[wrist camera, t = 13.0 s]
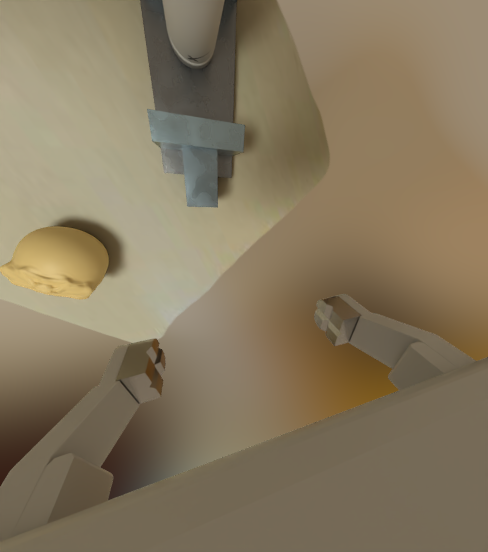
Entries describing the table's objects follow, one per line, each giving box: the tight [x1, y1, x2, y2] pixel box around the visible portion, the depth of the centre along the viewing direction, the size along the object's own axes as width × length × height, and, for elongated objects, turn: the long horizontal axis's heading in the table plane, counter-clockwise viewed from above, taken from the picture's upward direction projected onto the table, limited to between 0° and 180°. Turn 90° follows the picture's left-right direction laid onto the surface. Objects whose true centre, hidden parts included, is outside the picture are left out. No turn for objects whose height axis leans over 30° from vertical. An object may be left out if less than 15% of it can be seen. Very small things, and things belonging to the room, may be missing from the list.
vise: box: [140, 0, 237, 178], centre depth 23 cm, size 24×12×10 cm, turn 175°
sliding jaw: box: [147, 109, 245, 207], centre depth 28 cm, size 11×12×8 cm
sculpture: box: [0, 226, 109, 299], centre depth 30 cm, size 11×12×11 cm
